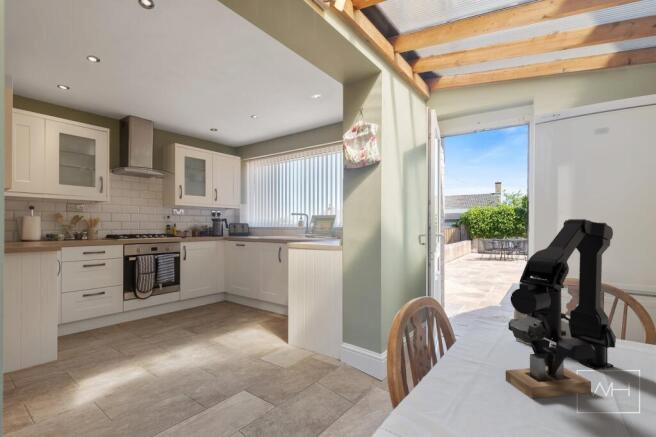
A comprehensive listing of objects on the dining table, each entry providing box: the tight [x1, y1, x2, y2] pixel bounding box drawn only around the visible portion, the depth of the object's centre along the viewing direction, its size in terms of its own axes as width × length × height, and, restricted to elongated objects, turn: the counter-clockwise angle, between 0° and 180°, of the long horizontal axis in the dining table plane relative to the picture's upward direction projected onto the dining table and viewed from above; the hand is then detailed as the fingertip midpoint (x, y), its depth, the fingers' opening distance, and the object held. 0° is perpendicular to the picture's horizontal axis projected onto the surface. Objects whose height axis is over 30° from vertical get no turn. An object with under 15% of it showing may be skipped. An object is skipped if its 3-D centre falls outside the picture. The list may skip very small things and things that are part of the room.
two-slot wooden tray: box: [505, 366, 592, 400], centre depth 74 cm, size 16×8×2 cm, turn 100°
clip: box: [529, 353, 565, 382], centre depth 74 cm, size 7×2×6 cm, turn 100°
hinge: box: [561, 314, 574, 339], centre depth 108 cm, size 17×5×10 cm, turn 25°
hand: (546, 371), depth 74 cm, fingers closed on clip, 2 cm apart
